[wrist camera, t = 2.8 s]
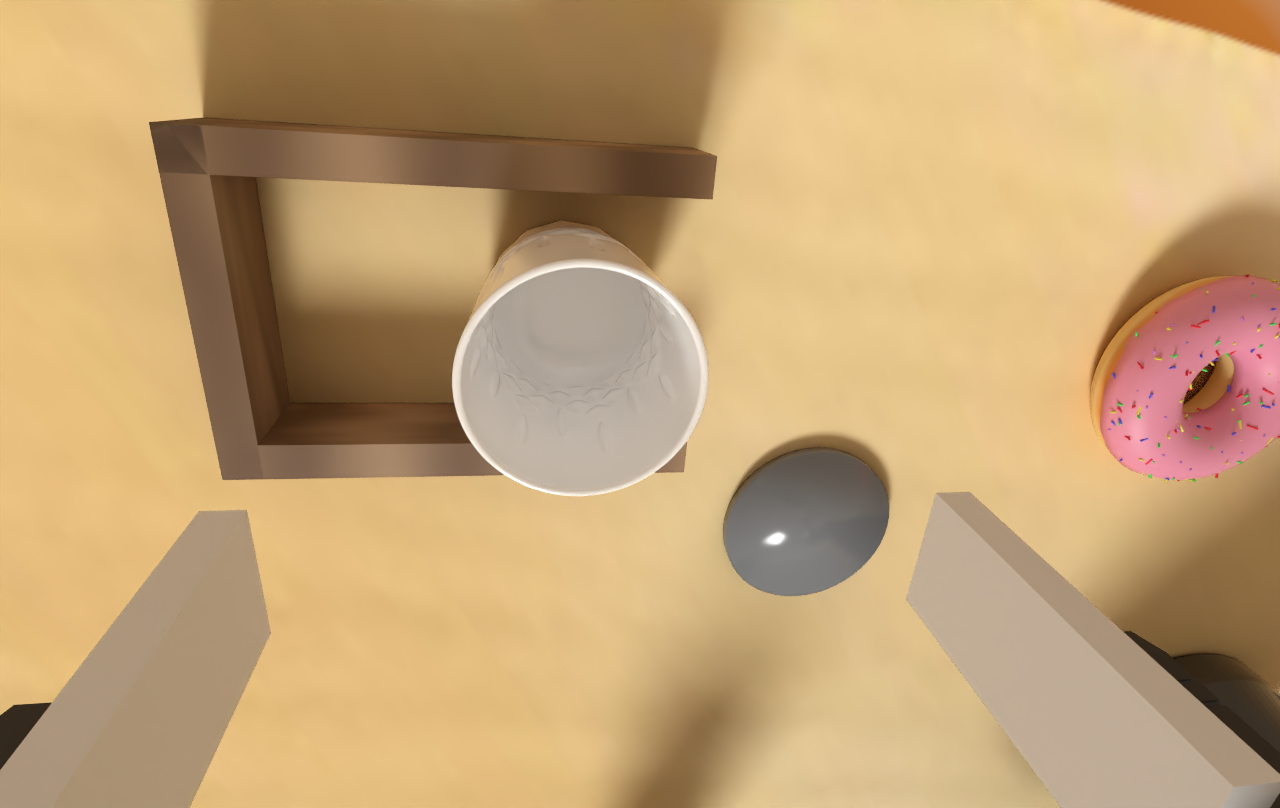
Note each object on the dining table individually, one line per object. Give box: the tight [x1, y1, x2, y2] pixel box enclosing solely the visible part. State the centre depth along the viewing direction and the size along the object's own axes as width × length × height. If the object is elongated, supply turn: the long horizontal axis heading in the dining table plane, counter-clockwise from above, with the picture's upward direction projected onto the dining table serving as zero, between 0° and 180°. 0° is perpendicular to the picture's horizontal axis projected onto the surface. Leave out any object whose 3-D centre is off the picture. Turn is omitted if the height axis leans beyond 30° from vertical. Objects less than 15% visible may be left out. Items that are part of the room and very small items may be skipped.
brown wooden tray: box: [149, 118, 717, 480], centre depth 28 cm, size 18×13×4 cm
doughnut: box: [1090, 274, 1280, 482], centre depth 35 cm, size 11×11×4 cm
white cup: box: [452, 221, 709, 496], centre depth 26 cm, size 8×8×10 cm
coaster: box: [723, 448, 889, 596], centre depth 37 cm, size 9×9×1 cm
